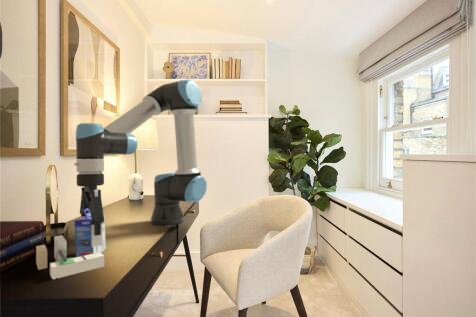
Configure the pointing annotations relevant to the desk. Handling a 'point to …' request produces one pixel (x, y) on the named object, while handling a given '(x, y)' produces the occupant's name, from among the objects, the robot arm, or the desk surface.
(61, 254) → the block
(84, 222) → the ink cartridge box
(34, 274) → the desk surface
